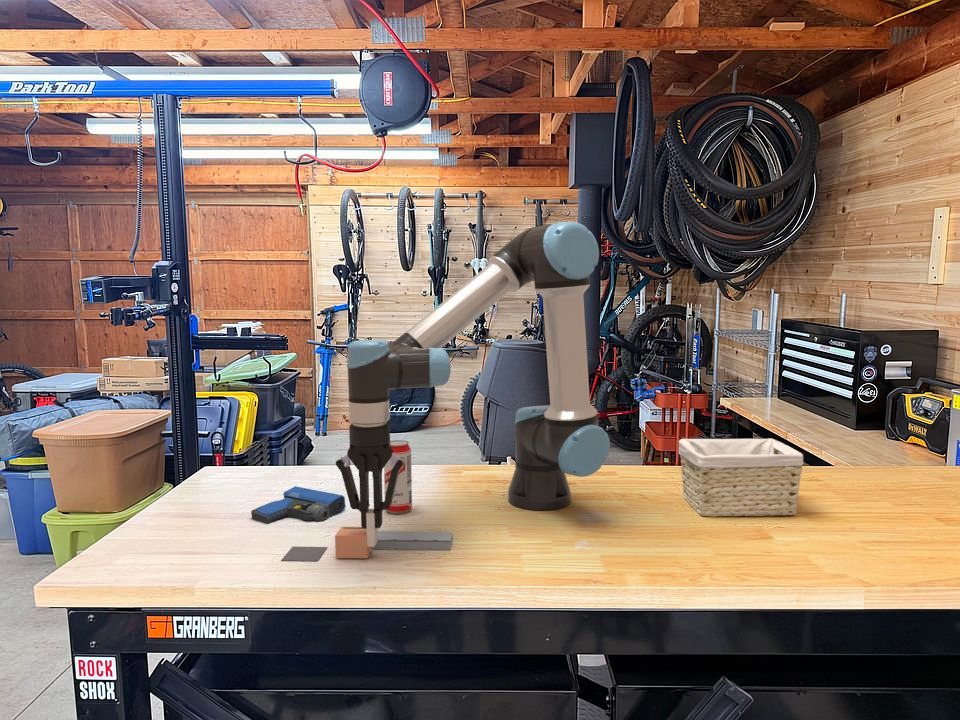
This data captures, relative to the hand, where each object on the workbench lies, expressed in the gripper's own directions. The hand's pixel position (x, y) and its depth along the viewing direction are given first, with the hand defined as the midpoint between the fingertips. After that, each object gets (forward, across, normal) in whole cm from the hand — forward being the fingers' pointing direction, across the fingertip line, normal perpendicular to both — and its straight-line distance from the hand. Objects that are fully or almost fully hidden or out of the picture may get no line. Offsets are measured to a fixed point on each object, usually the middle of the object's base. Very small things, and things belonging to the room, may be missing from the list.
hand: (372, 543), depth 121 cm
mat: (+3, +13, -1) cm, 14 cm away
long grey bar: (+3, -4, -6) cm, 8 cm away
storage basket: (+3, -80, -30) cm, 85 cm away
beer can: (+3, -1, -26) cm, 26 cm away
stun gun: (+3, +22, -22) cm, 31 cm away
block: (+3, +4, -1) cm, 5 cm away
